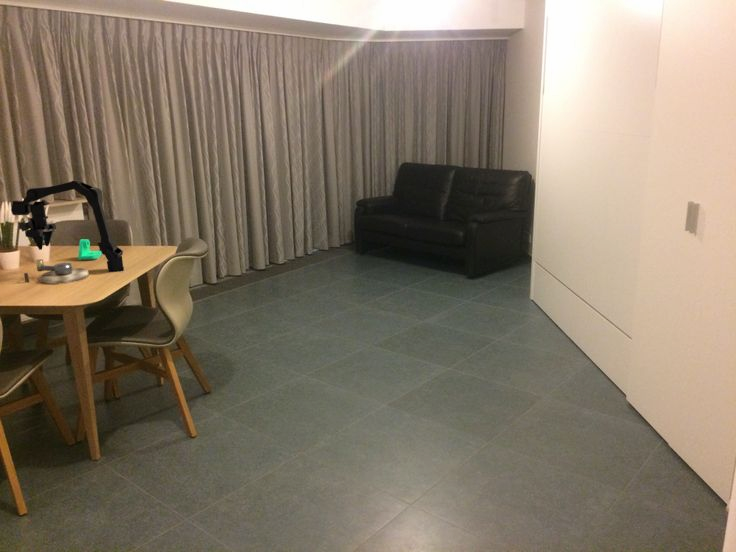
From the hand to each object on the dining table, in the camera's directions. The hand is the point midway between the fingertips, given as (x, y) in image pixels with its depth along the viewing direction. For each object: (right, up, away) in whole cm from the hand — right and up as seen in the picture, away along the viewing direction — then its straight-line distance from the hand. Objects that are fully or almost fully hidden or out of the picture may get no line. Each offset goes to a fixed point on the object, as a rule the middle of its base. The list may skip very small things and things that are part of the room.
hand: (43, 247), depth 267 cm
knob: (+8, -12, -5) cm, 15 cm away
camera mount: (+7, -4, +31) cm, 32 cm away
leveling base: (+10, -14, -7) cm, 19 cm away
